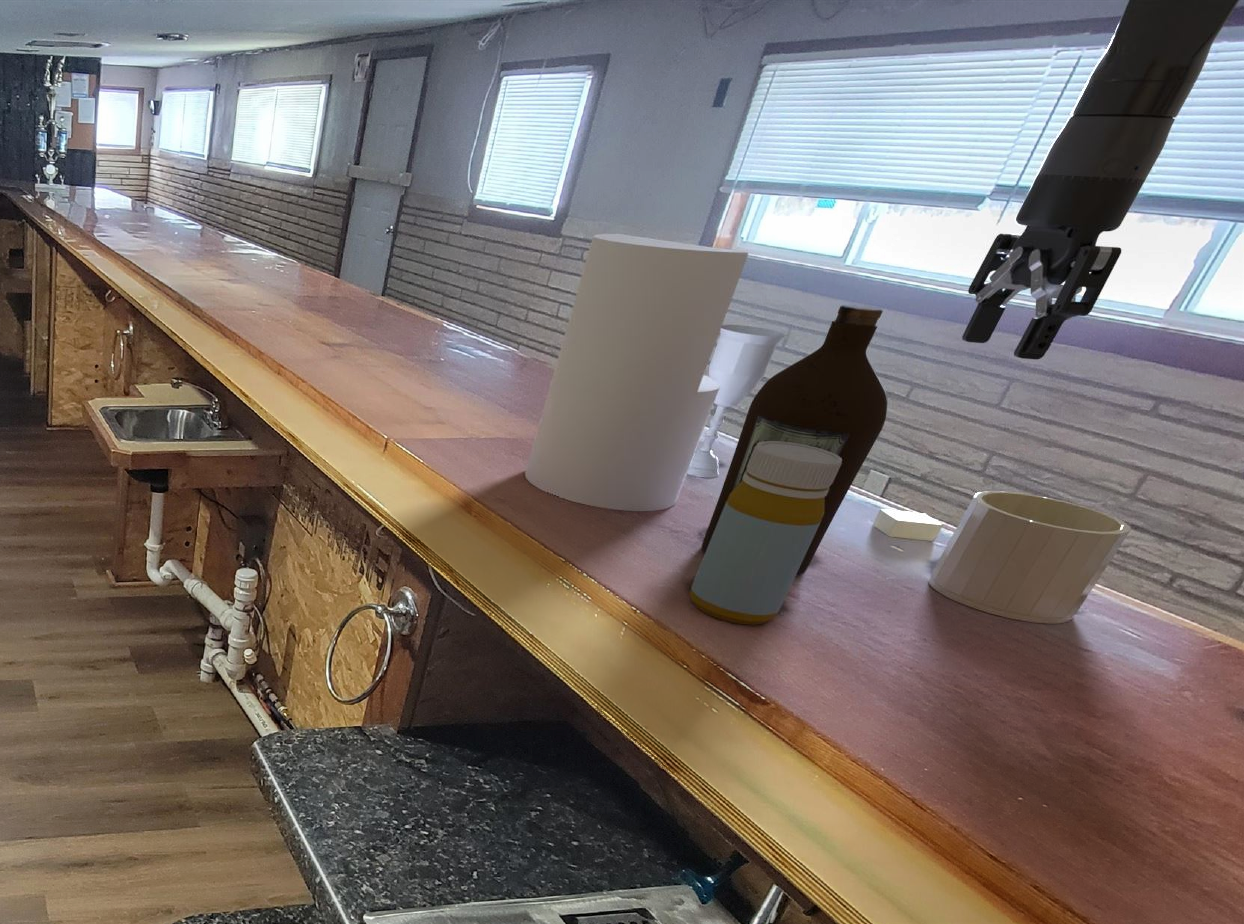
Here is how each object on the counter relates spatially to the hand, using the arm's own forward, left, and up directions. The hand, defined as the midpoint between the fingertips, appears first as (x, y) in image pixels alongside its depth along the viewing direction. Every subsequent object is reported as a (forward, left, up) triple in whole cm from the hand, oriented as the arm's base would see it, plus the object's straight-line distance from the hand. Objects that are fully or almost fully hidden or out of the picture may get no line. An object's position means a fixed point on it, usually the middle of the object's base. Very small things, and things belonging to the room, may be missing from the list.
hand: (998, 349), depth 93 cm
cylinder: (+31, -6, -20) cm, 38 cm away
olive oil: (+21, +14, -20) cm, 33 cm away
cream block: (0, 0, -20) cm, 20 cm away
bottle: (+28, +28, -21) cm, 45 cm away
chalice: (+16, -17, -21) cm, 31 cm away
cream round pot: (0, +17, -20) cm, 27 cm away
